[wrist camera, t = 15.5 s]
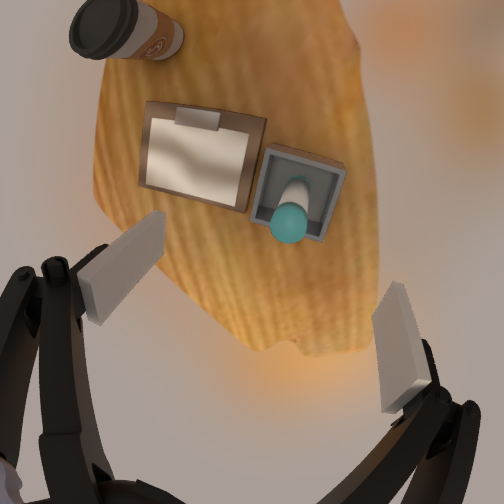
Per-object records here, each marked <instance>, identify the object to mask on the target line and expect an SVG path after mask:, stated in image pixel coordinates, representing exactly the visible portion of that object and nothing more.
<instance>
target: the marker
mask: <svg viewBox="0 0 504 504" xmlns="http://www.w3.org/2000/svg"><path fill="white" fill-rule="evenodd" d="M310 188H311V186H310V182H309V181H308V179H307V178H306V177H304V176H301V175H295V176H292V177H291V178H290V179H289V180H288V182H287V184H286V188H285V190H284V192H283V195H282V197H281V200H280V202H279V205H278V207H277V208H276V209H275V211H274V214H273V216H272V218H271V221H270V230H271V233H272V234H273V236H274V237H275V238H276V239H277V240H279V241H281V242H283V243H295V242H298V241H299V240H301V239H302V238H303V237H304V235H305V233H306V230H307V221H308V216H307V212H308V203H309V194H310Z"/></svg>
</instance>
